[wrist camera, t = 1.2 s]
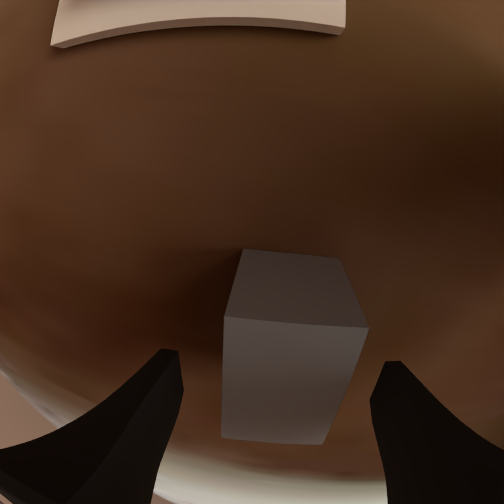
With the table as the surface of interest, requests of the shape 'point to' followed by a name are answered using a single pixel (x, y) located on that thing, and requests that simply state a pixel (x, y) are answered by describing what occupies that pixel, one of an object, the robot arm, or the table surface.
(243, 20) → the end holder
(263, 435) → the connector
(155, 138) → the table surface
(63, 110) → the table surface
